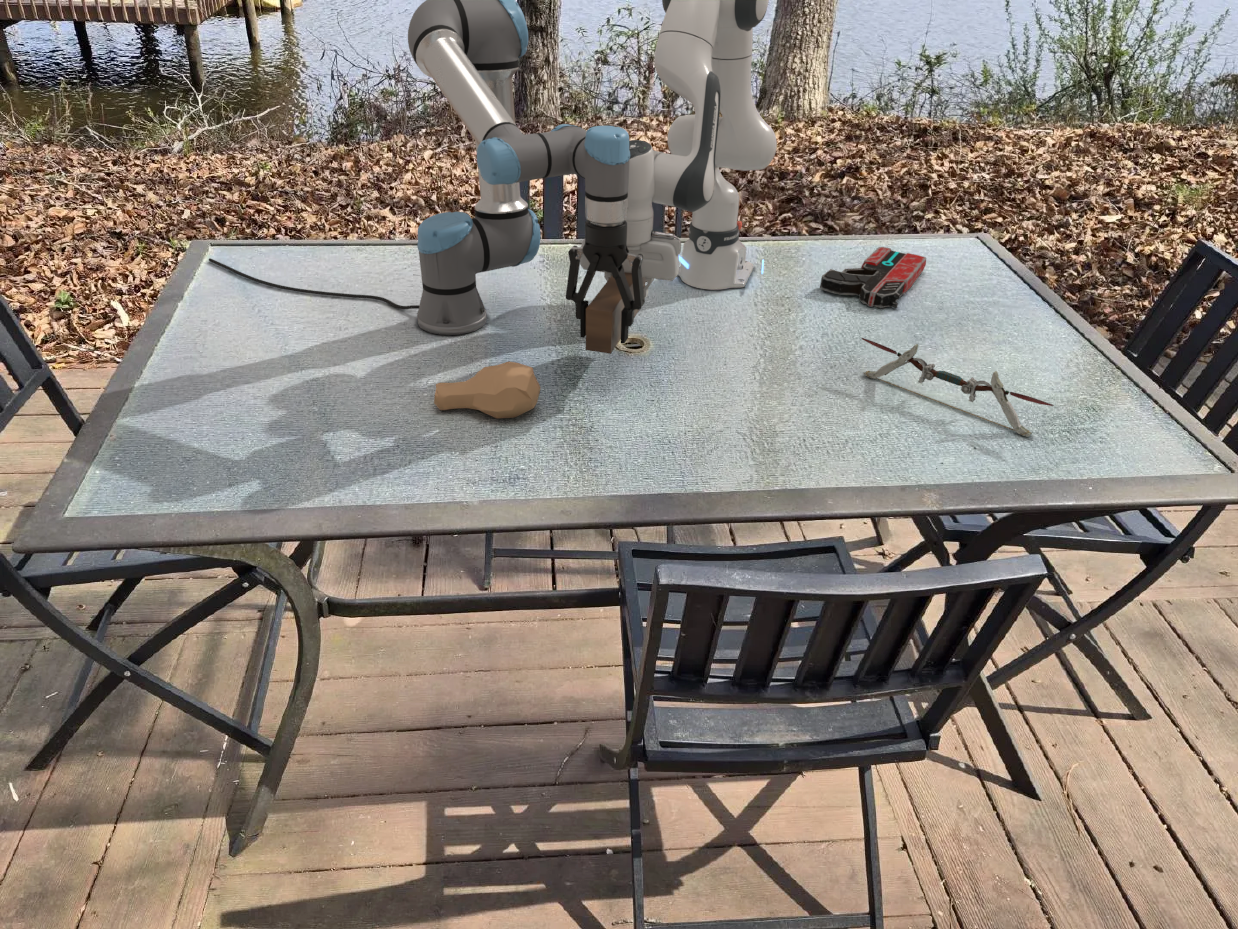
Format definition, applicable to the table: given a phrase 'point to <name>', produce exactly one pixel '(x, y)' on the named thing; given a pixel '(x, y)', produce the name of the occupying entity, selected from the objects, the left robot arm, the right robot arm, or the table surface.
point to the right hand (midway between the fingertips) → (628, 294)
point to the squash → (493, 391)
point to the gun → (877, 277)
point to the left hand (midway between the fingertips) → (604, 337)
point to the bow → (966, 388)
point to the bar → (606, 317)
